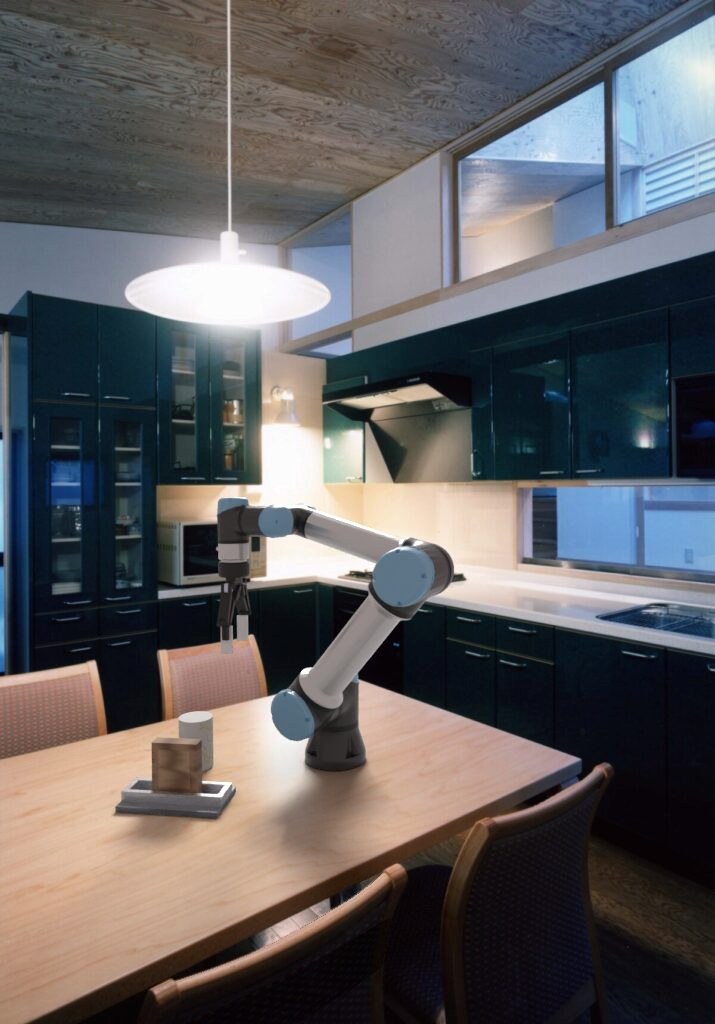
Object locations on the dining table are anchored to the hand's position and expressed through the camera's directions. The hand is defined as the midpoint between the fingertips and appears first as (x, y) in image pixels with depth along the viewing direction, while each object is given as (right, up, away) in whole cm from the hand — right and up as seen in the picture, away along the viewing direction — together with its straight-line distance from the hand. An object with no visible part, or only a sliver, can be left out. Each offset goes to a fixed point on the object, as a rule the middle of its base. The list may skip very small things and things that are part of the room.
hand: (235, 646), depth 160 cm
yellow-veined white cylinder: (-9, -29, -1) cm, 30 cm away
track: (-9, -29, -20) cm, 36 cm away
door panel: (-9, -28, -20) cm, 35 cm away
